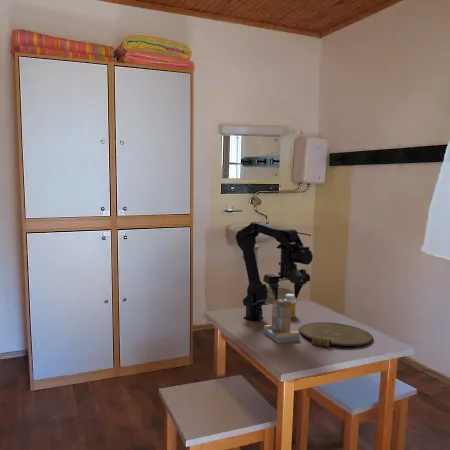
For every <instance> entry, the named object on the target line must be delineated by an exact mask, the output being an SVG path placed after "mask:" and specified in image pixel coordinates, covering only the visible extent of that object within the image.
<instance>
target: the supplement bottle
mask: <svg viewBox="0 0 450 450" xmlns="http://www.w3.org/2000/svg"><path fill="white" fill-rule="evenodd" d="M284 296H285V298H284V299H283V300H285V301H288V302H291V318H295V316H296V305H297V303H296V298H295V294H294V293H285V295H284Z"/></svg>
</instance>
